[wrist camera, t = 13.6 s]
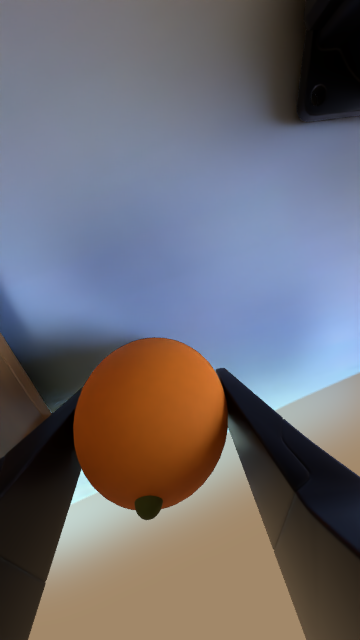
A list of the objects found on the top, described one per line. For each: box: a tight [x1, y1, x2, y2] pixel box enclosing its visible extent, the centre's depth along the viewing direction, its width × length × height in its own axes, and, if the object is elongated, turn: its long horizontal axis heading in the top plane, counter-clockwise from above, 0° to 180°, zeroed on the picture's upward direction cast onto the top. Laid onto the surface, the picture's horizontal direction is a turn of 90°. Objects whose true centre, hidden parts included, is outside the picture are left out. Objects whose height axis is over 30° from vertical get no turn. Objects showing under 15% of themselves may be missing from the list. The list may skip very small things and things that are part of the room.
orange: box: [73, 338, 228, 520], centre depth 8 cm, size 6×6×6 cm
